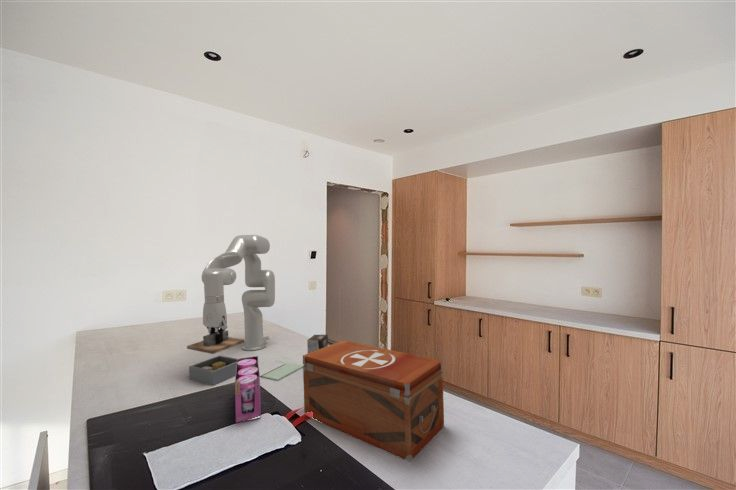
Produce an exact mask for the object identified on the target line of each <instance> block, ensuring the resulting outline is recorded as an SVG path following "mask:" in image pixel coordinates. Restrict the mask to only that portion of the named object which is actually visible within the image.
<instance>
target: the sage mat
mask: <svg viewBox="0 0 736 490" xmlns="http://www.w3.org/2000/svg"><path fill="white" fill-rule="evenodd" d="M274 362H275V363H278V364H279V363H280V364H282V365H280V366H278V367H276V368H274V369H272V370H269V371H268V372H266V373H263V374H262V375H260V378H263V379H267V380H273V381H277V382H279V381H281V380H283V379H285V378H286V377H288V376H290V375H291V374H294V373H296V372H298V371H299V370H302V369H303V366H304V365H303V364H298V363H293V362H287V361H282V360H281V361H280V360H274V361H273V363H274Z"/></svg>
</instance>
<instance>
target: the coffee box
mask: <svg viewBox="0 0 736 490" xmlns="http://www.w3.org/2000/svg"><path fill="white" fill-rule="evenodd" d="M328 339H329V338H328V334H313V335H312V336H311V337H310V338H308V339H307V340H306V341H307V342H306V343H307V344H306V345H307V354H308V353H311V352H313V351H316V350H319V349H321V348H324V347H327V346H329V341H328Z"/></svg>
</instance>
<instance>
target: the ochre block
mask: <svg viewBox="0 0 736 490" xmlns="http://www.w3.org/2000/svg"><path fill="white" fill-rule="evenodd" d="M224 366H226V363H225V362H220V361H219V362H217V363H214V364H212V371H214V370H217V369H219V368H222V367H224Z"/></svg>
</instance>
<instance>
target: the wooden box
mask: <svg viewBox="0 0 736 490" xmlns="http://www.w3.org/2000/svg"><path fill="white" fill-rule="evenodd" d="M302 365H304V366H303V368H302V377H303V402H304V403H303V406H304V409H303V410H304V414H305V413H307V412H311V411H312V412H313V418H314V419H317V420H318V421H320V422H322V423H321V424H323V425H325V426H327V427H330V428H332V429H334V430H336V431H339V432H341V433H344V434H346V435H348V436H350V437H353V438H354V439H357V440H358V441H359V440H360V441H361V442H364V443H366V444H368V445H371V446H373V447H375V448H377V449H380V450H382V451H385V452H387V453H389V454H391V455H394V456H396V457H398V456H399V457H398V458H400V457H401V459H403V460H405V461H408V462H409V463H410V462H411V461H412V460H413V459H414V458H416V456H417V455H419V453H420V452H421V451H422V450H423V449H424V448H426V446H427V444H429V443H430V442H431V441H432V440H433V439H434V438H435V437H436V435H438V433H439V432H440V431H441V430H442V429H443V428H444V427H445V414H444V413H445V412H444V411H445V409H444V406H445V405H444V373H443V370H444V369H443V360H440V359H434V358H429V357H425V356H420V355H415V354H411V353H407V352H402V351H396V350H391V349H387V348H383V347H382V348H381V347H378V346H373V345H369V344H368V345H367V344H363V343H358V342H354V341H349V340H346V339H344V340H340V341H338V342H335V343H331V344H330V345H329V344H328V346H327V347H324V348H321V349H319V350H316V351H313V352H311V353H308V352H307V353H305V354H302ZM318 421H317V422H318ZM320 422H319V423H320Z"/></svg>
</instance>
